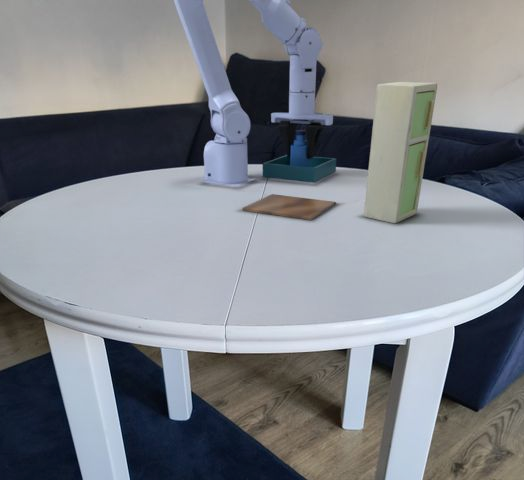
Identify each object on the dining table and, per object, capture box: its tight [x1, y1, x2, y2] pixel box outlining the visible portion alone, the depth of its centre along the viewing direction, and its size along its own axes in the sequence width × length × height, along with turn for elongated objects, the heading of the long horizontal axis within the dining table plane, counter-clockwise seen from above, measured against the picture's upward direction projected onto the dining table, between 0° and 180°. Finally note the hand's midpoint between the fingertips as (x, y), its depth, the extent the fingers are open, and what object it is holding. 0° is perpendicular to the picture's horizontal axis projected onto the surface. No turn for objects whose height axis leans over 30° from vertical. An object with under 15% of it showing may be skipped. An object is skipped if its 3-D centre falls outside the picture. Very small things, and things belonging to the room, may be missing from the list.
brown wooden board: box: [242, 193, 336, 221], centre depth 93 cm, size 14×12×1 cm
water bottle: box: [290, 129, 310, 167], centre depth 114 cm, size 5×5×10 cm
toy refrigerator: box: [363, 81, 438, 224], centre depth 82 cm, size 8×7×21 cm
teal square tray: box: [262, 154, 337, 183], centre depth 115 cm, size 13×13×4 cm
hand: (300, 157), depth 114 cm, fingers closed on water bottle, 4 cm apart
